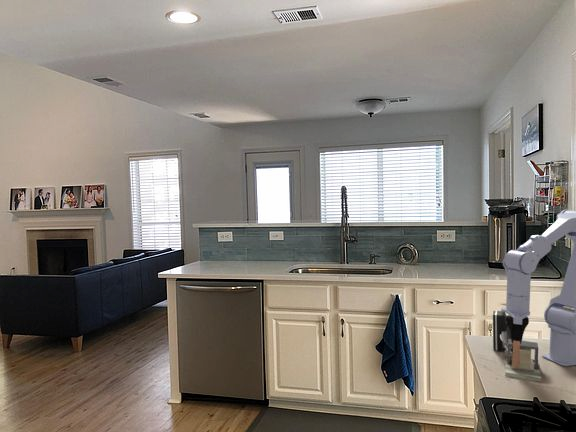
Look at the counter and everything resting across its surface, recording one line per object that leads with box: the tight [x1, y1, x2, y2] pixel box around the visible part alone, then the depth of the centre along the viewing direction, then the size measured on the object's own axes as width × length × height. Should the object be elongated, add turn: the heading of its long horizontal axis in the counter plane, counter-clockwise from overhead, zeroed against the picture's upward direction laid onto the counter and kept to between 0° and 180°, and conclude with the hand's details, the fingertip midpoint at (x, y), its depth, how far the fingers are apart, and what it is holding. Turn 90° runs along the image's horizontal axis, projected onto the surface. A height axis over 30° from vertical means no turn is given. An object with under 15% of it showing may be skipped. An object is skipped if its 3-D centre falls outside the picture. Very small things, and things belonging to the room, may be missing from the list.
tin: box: [500, 323, 513, 352], centre depth 143 cm, size 15×3×8 cm, turn 169°
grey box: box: [507, 339, 539, 369], centre depth 126 cm, size 4×7×6 cm, turn 64°
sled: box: [511, 339, 534, 372], centre depth 125 cm, size 8×5×8 cm
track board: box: [504, 354, 542, 383], centre depth 125 cm, size 14×8×1 cm, turn 154°
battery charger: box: [492, 310, 507, 352], centre depth 141 cm, size 7×4×11 cm, turn 153°
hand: (516, 343), depth 124 cm, fingers closed
